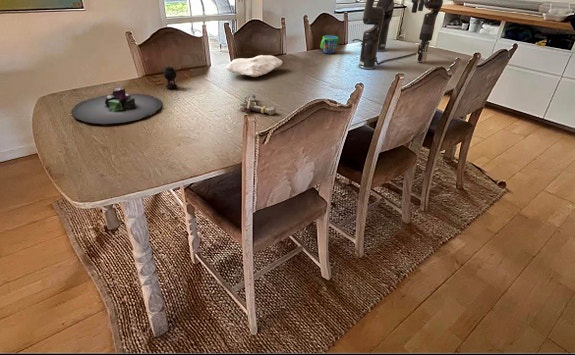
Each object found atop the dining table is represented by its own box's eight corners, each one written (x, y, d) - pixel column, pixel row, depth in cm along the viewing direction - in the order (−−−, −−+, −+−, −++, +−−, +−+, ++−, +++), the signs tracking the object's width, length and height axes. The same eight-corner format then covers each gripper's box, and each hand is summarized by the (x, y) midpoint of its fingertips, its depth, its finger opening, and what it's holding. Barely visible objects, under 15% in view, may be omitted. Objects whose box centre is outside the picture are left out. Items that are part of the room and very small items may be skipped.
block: (415, 60, 232) (417, 52, 229) (418, 59, 235) (419, 51, 232) (423, 62, 229) (425, 54, 226) (425, 60, 233) (427, 52, 230)
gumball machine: (165, 90, 172) (162, 69, 166) (163, 86, 176) (159, 65, 171) (180, 88, 175) (177, 67, 169) (177, 85, 179) (174, 64, 174)
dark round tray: (174, 113, 149) (170, 91, 144) (79, 131, 131) (72, 107, 127) (148, 93, 173) (144, 73, 169) (65, 106, 156) (59, 85, 151)
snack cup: (333, 49, 252) (334, 34, 247) (343, 53, 245) (344, 37, 239) (315, 52, 245) (316, 36, 239) (324, 55, 237) (326, 39, 232)
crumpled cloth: (213, 69, 198) (213, 53, 192) (266, 60, 216) (267, 45, 210) (236, 88, 185) (236, 71, 179) (290, 76, 203) (292, 61, 197)
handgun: (275, 94, 165) (242, 93, 164) (275, 109, 150) (239, 108, 149) (275, 100, 167) (242, 99, 166) (275, 115, 152) (239, 114, 151)
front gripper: (428, -27, 155) (419, 14, 164) (438, -28, 165) (429, 11, 174) (411, -28, 159) (403, 12, 168) (422, -29, 169) (414, 9, 177)
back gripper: (429, 34, 216) (422, 63, 225) (436, 31, 226) (430, 58, 235) (417, 32, 220) (411, 61, 229) (424, 29, 230) (418, 56, 239)
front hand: (417, 11), depth 171 cm, fingers open, 8 cm apart
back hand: (420, 59), depth 232 cm, fingers closed on block, 5 cm apart
